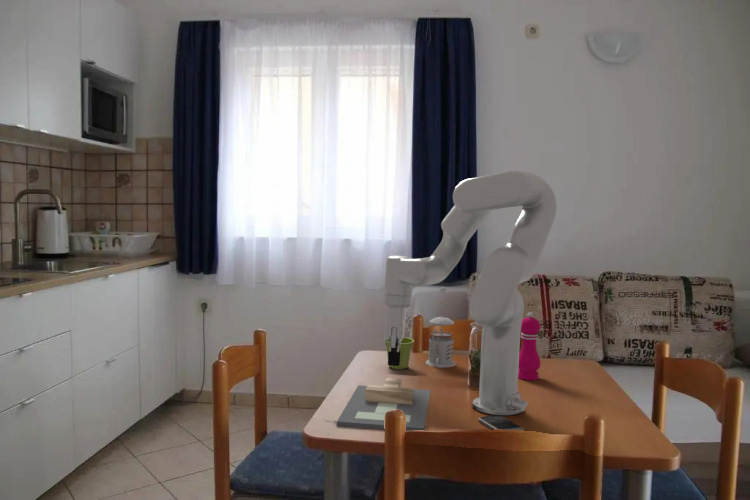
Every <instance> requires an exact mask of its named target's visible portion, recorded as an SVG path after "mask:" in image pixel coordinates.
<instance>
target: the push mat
mask: <svg viewBox="0 0 750 500" xmlns="http://www.w3.org/2000/svg"><path fill="white" fill-rule="evenodd" d="M367 386H368V385H361V384H360V385H357V387H356V389H355V390H354V392H353V393H352V395H351V397H350V399H349V400H348V402H347V403H346V406H345V407H344V408H343V410H342V412H341V414H340V415H339V417H338V419H337V420H336V426H337V427H346V428H348V427H349V428H360V429H361V428H362V429H363V428H364V429H375V430H385V429H384V416H385V413H386V412H387V411H390V410H393V409H399V410H402V411H403V412H404V414H405V416H406V423H407V424H406V430H424V431H425V429H426V426H425V425H426V420H427V414H428V409H429V403H430V397H431V390H430V389H419V388H414V398H413V403H412V404H400V403H386V402H372V401H365V389H366V387H367Z"/></svg>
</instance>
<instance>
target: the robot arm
mask: <svg viewBox="0 0 750 500" xmlns="http://www.w3.org/2000/svg"><path fill="white" fill-rule="evenodd" d="M452 202H453V207H452V208H451V209H450V211H449V212H448V213H447V214H446V215H445V217H444V218H443V220H442V221H441V223H440V227H441V230H442V234H443V235H442V239H441V241H440V243H439V244H438V246H437V247H436V249H435V250H434V251H433V253H431V255H430V256H428V257H422V258H421V257H420V258H412V257H410V256H406V255H390V256H388V257H387V259H386V264H385V279H384V282H385V283H384V295H383V296H384V297H383V305H384V306H385V307H387V308H386V313H385V320H384V321H385V322H384V323H385V325H384V333H383V334H384V335H383V341H384V343H385V342H386V341H388V339H389V338H390V342H389V352H388V355H387V365H388V366H389V365H391V366H399V364H400V343H401V342H402V339H403V337H405V330H406V321H407V319H406V318H407V308H411V307H412V295H413V294H412V292H413V287H421V288H422V287H426V286H431V285H435V284H439V283H441V282H442V281H444V280H445V279H447V277H448V276H449V275H450V274H451V272H452V271H453V270H454V268H455V267H456V266H457V265H458V263H459V262H460V261H461V259H462V257H463V255H464V253H465V251H466V249H467V245H468V242H469V241H470V239H471V238H472V237H473V236H474V234H475V233H476V231H477V230H478V229H479V228H480V226H481V225H482V224H483V223H484V221H485V220H486V219H487V217H488V216H489V215H490V214H491V213H492V211H495V210H500V209H507V208H508V209H509V208H521V211H520V214H519V216H518V218H517V220H516V222H515V223H514V226H513V227H512V231H511V233H510V236H509V238H508V241H507V243H506V244H505V245H504V246H501V247H498V248H496V249H495V250H493V251H492V252H490V254H489V255H488V257H487V258H486V259H485V262H484V264H483V265H482V266H483V267H482V269H481V271H480V273H479V276H478V279H477V282H476V284H475V286H474V289H473V292H472V294H471V297H470V300H469V312H470V316H471V318H472V319H473V321H474V323H476V324H477V325H479V326H480V327H482V331H481V342H480V344H481V345H480V364H479V366H480V367H479V369H480V370H479V389H478V390H479V392H478V397H475V398H474V399H473V401H472V407H473V408H474V409H475V410H477V411H479V412H481V413H485V414H489V415H493V416H494V415H499V416H512V415H518V414H520V413H522V412H524V411H526V409H527V407H528V405H529V403H528V401H526V400H522V398H521V393H520V392H518V388H519V387H518V386H519V378H518V370H519V368H518V367H519V353H520V349H521V348H520V344H521V343H520V341H521V333H522V331H521V324H522V319H524V318H523V317H524V310H525V309H524V308H525V303H524V299H523V296H522V294H521V292H520V291H519V290H518V287H519V284H523V283H525V282H527V281H529V280H530V279H531V278H532V277H533V275H534V273H535V271H536V268H537V265H538V263H539V261H540V258H541V256H542V253H543V250H544V248H545V245H546V242H547V240H548V237H549V235H550V233H551V230H552V227H553V225H554V222H555V218H556V215H557V209H558V208H557V206H558V205H557V198H556V195H555V193H554V190H553V189H552V187H551V186H550V184H548V182H547V180H545V179H544V178H542V177H541V176H539V175H537V174H535V173H533V172H526V171H520V170H507V171H503V172H497V173H491V174H488V175H482V176H481V175H480V176H476V177H471V178H466V179H464V180H462V181H460V182H459V183H458V184H457V185H456V186H455V188H454V190H453V193H452Z"/></svg>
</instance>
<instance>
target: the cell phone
mask: <svg viewBox="0 0 750 500" xmlns="http://www.w3.org/2000/svg"><path fill="white" fill-rule="evenodd" d="M478 422H479V423H480V424H482V425H484V426H485V427H486V428H489V429H490V430H492V429H503V430H504V429H505V430H524V431H525V428H523V427H521V426H519V424H516V423H514V422H513V421H511V420H509V419H507V418H505V417H504V416H503V415H494V414H493V415H487V416H480V417H479V418H478Z"/></svg>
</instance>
